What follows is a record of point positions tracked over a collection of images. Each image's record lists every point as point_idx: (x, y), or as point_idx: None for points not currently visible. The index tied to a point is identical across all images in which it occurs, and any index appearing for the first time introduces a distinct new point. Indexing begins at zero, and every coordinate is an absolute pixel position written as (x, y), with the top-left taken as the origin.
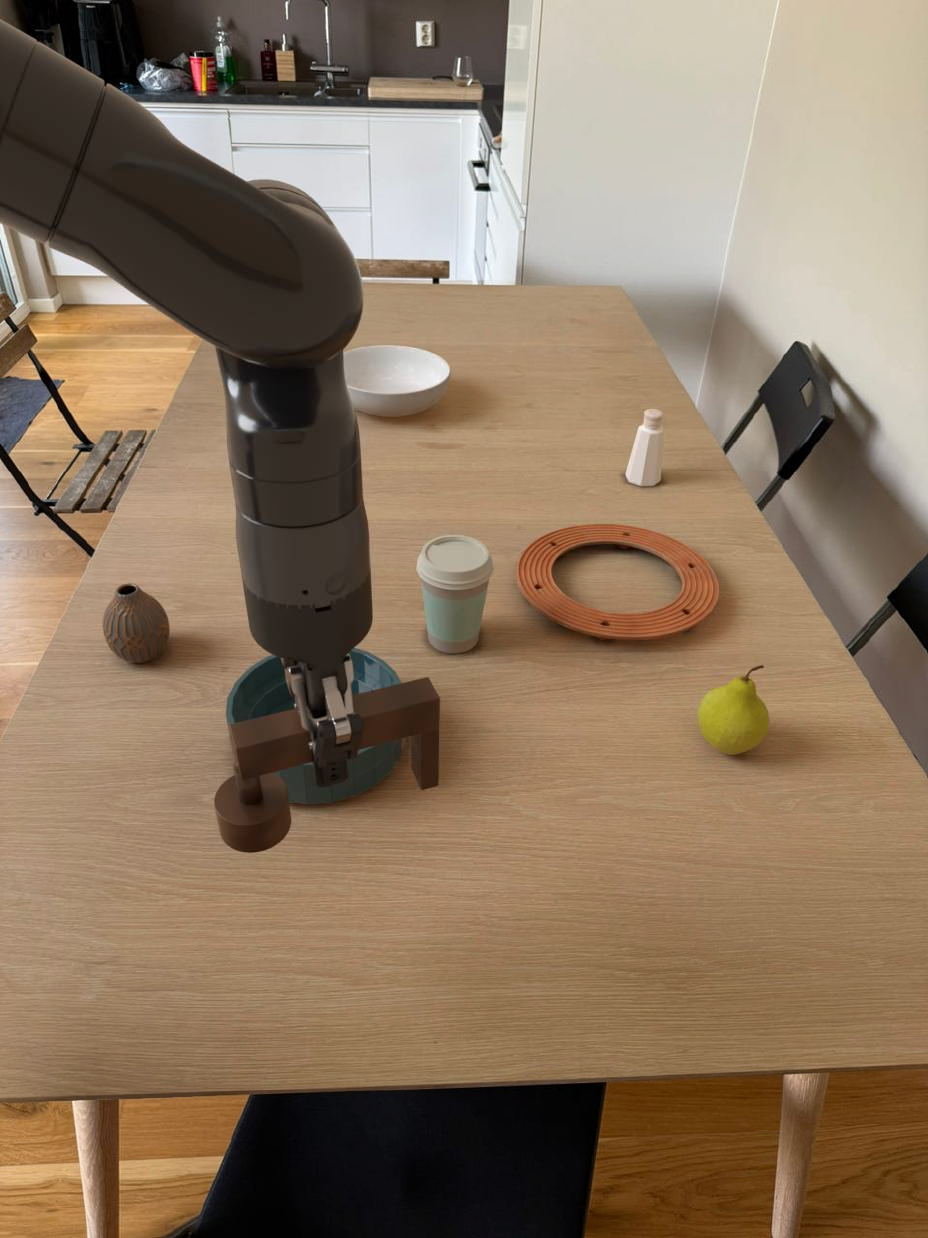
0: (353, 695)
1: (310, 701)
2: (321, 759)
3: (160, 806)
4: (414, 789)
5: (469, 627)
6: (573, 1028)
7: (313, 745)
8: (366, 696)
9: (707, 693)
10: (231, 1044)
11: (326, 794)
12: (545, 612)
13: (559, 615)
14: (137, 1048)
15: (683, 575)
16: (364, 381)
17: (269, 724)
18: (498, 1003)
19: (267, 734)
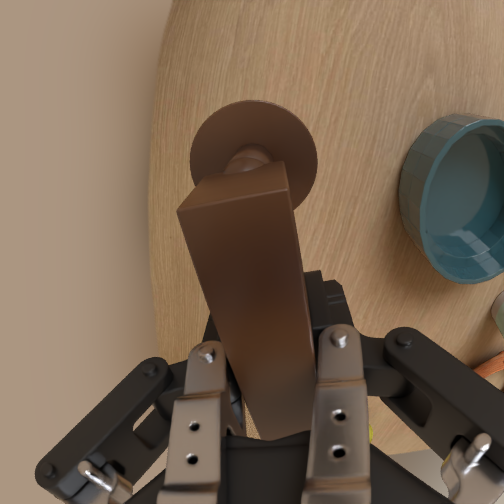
0: None
1: (149, 489)
2: (108, 394)
3: (426, 43)
4: (393, 256)
5: (500, 327)
6: (177, 313)
7: (188, 368)
8: None
9: (370, 435)
10: (181, 95)
11: (403, 189)
12: (485, 364)
13: (478, 371)
14: (188, 30)
15: None
16: None
17: (268, 297)
18: (194, 279)
19: (226, 292)
